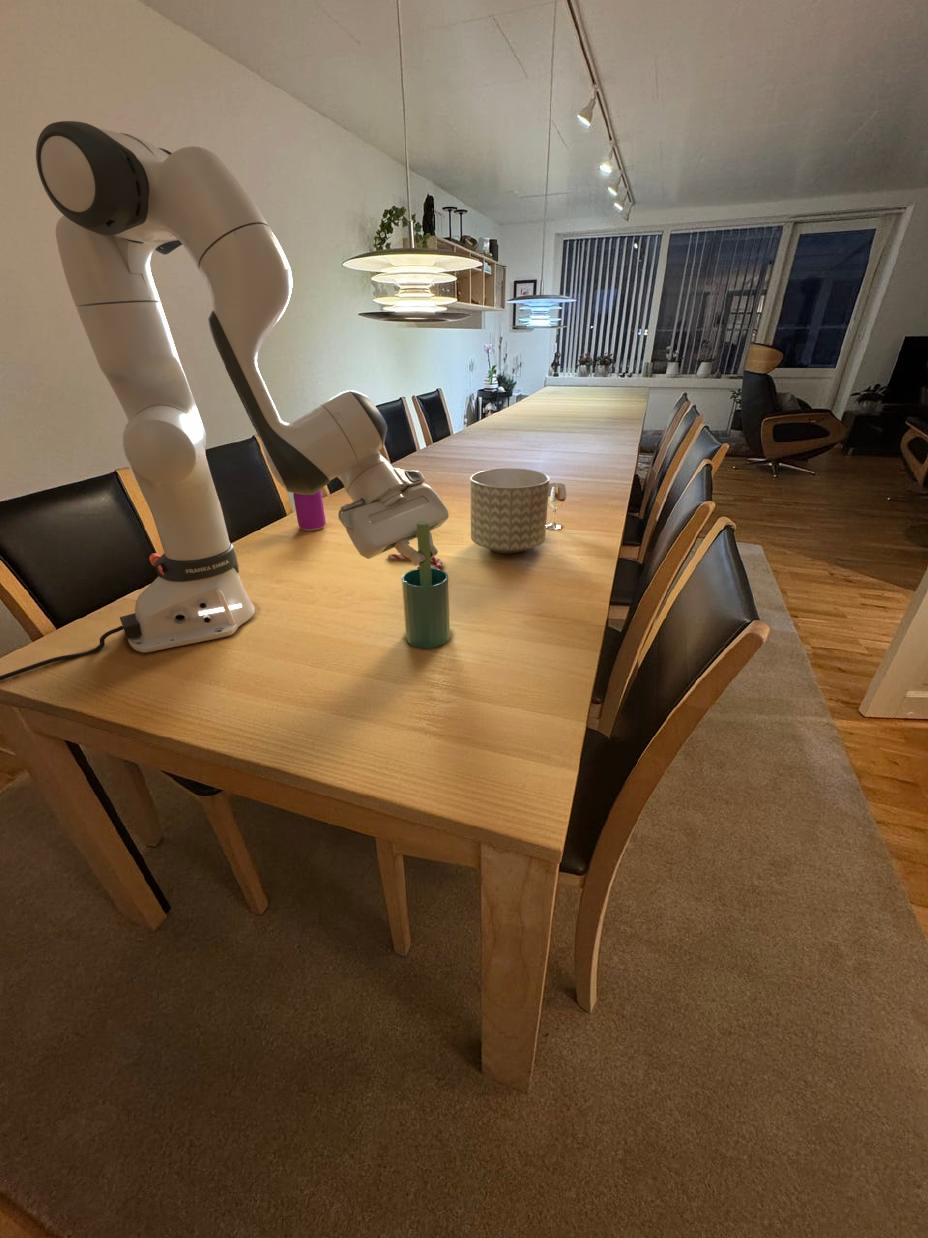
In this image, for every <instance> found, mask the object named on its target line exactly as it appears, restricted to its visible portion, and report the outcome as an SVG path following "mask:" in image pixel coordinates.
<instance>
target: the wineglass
mask: <svg viewBox="0 0 928 1238" xmlns="http://www.w3.org/2000/svg"><path fill="white" fill-rule="evenodd" d="M566 489H567V487H566V484H564V483H563V482H552V483H551V482H549V492H548V507H550V508H551V509H552V523H549V524H546V529H548V530H553V531H554V530H560V529H562V526H561V525H560V524H556V515H557V509H558V508H561V507H563V506H564V505H565V504H566V500H567V490H566Z"/></svg>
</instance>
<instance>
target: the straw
mask: <svg viewBox="0 0 928 1238" xmlns="http://www.w3.org/2000/svg"><path fill="white" fill-rule="evenodd" d="M417 538H418V539H417ZM416 539H417V551H419V550H420V551H421V552H422V553H423V555H424V556H425V560H424V561H423V562H422V563H421V564H419V565H418V567H419V569H420V585H421V586H431V585H432V574H431V567H432V562H431V555H430V536H429V522H427V521H419V522H417V537H416Z"/></svg>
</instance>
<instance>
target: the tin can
mask: <svg viewBox="0 0 928 1238" xmlns="http://www.w3.org/2000/svg"><path fill="white" fill-rule="evenodd" d="M431 574H432V585H431V586H421V585H420V569H417V568H414V569H410V570H408V571H406V572H405V573H403V575H401V590H402V601H403V602H402V605H403V615H404V616H403V617H404V629H405V630H404V631H405V638H406V642H407V643H408V644H409V645H411V646H413V647H417V648H418V649H419V648H420V649H434V648H437V647H441V646H443V645H445V644H446V643H447V642H448V641H449V640H450V638H451V625H450V618H451V617H450V587H449V586H450V585H449V584H450V583H449V574H448V572H446V571H444V570H443V569H440V570H439V569H435V568H431Z"/></svg>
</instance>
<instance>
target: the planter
mask: <svg viewBox="0 0 928 1238" xmlns="http://www.w3.org/2000/svg"><path fill="white" fill-rule="evenodd" d="M549 484H550V476H548V474H546V473H544V472H541V471H537V470H534V469H526V468H508V467H507V468H491V469H485V470H481V471H477V472H475V473H473V474H472V475H471V476H470V539H471V541H472V542H473V543H474V544H476V545H478V546H480V547H483V548H485V549H487V550H490V551H492V552H495V553H499V554H506V555H507V554H511V555H512V554H517V553H518V554H519V553H521V552H525V551H527V550H530V549H533V548H536V547H538V546H540V545H542V544H543V543H544V542H545V540H546V535H547V534H546V532H547V528H546V525H547V519H548V507H549V506H548V492H549Z"/></svg>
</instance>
